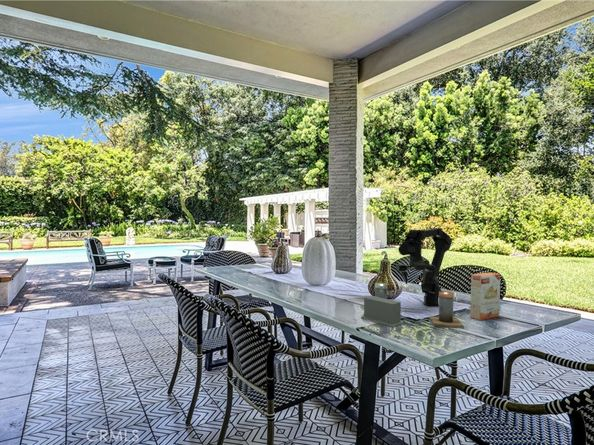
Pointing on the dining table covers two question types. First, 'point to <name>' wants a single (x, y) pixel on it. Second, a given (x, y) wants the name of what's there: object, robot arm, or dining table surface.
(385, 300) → the block
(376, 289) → the steel cartridge
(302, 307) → the dining table surface
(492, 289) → the cracker box
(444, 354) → the dining table surface
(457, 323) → the walnut plate
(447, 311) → the copper capped grey cylinder
